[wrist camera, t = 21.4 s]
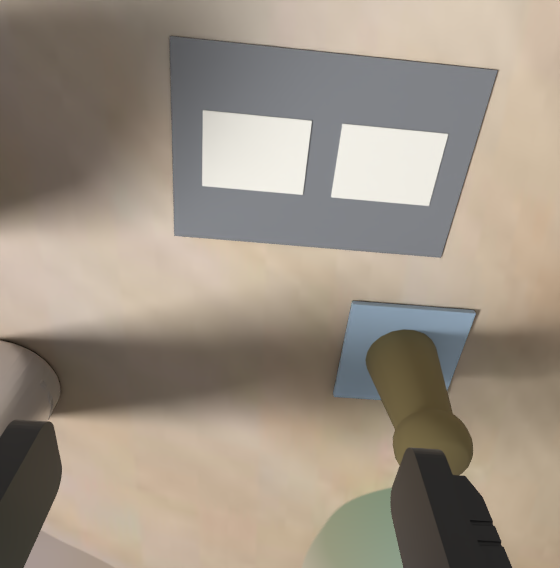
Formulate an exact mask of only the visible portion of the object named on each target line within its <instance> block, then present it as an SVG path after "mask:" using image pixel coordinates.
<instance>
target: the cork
mask: <svg viewBox="0 0 560 568" xmlns="http://www.w3.org/2000/svg"><path fill="white" fill-rule="evenodd" d="M365 361H366V366H367V370H368V372H369V374H370V376H371V378H372V381H373V383H374V385H375V387H376V389H377V391H378V394H379V396H380V398H381V400H382V402H383V404H384V407H385V409H386V411H387V413H388V415H389V417H390V420H391V422H392V424H393V426H394V428H395V433H394V436H393V448H394V454H395V458H396V460H397V462H398V463H399V465H400V464H401V461H402V458H403V455H404V453H405V450H406V449H407V448H409V447H410V448H425V449H439V450H441V451H443V453H444V454H445V456H446V458H447V461H448V464H449V466H450V469H451V472H452V474H453V475H460V474H462V473H463V472H464V471H465V470H466V469H467V468H468V466H469V464H470V462H471V460H472V456H473V443H472V438H471V436H470V434H469V432H468V430H467V428H466V427H465V425H464V424H463V422H462V421H461V420H460V419H459V418H457V417H456V416H455V415H453V413H452V409H451V405H450V401H449V397H448V393H447V389H446V385H445V381H444V377H443V373H442V369H441V365H440V361H439V357H438V353H437V349H436V346H435V344H434V343H433V341H432V339H430V338H429V337H428V336H427V335H425V334H424V333H421V332H418V331H416V330H405V329H403V330H397V331H392V332H390V333H387V334H385V335H383V336H381V337H380V338H379V339H377V340H376V341H375V342H374V343H373V344H372V345H371V347H370V348H369V350H368V351H367V355H366V360H365Z"/></svg>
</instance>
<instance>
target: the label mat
mask: <svg viewBox="0 0 560 568" xmlns="http://www.w3.org/2000/svg"><path fill="white" fill-rule="evenodd" d="M170 70H171V112H172V154H173V197H174V236H184V237H196V238H209V239H221V240H233V241H245V242H257V243H269V244H281V245H294V246H306V247H318V248H330V249H342V250H354V251H367V252H379V253H391V254H403V255H415V256H427V257H439V258H441V255H442V252H443V249H444V245H445V242H446V239H447V236H448V232H449V229H450V226H451V222H452V219H453V216H454V213H455V209H456V206H457V203H458V199H459V196H460V193H461V189H462V186H463V183H464V180H465V176H466V173H467V170H468V166H469V163H470V160H471V157H472V153H473V150H474V147H475V143H476V140H477V137H478V133H479V130H480V127H481V124H482V120H483V117H484V114H485V110H486V107H487V104H488V101H489V97H490V94H491V91H492V87H493V84H494V81H495V77H496V74H497V71H498V70H490V69H481V68H471V67H462V66H452V65H442V64H433V63H423V62H414V61H404V60H395V59H385V58H376V57H366V56H356V55H347V54H337V53H328V52H318V51H309V50H299V49H290V48H280V47H271V46H261V45H251V44H242V43H232V42H223V41H213V40H204V39H194V38H185V37H175V36H170Z"/></svg>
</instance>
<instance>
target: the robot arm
mask: <svg viewBox="0 0 560 568" xmlns="http://www.w3.org/2000/svg"><path fill="white" fill-rule="evenodd" d="M59 397H60V383H59V380H58V377H57V375H56V374H55V372H54V371H53V369H52V368H51V367H50V366H49V365H48V363H47V362H46V361H45V360H43V359H42V358H41V357H39V356H38V355H37V354H35V353H34V352H32V351H30V350H28V349H26V348H24V347H22V346H19V345H16V344H14V343H9V342H5V341H0V568H23V567H24V565H25V563H26V561H27V559H28V556H29V554H30V552H31V550H32V547H33V545H34V543H35V541H36V539H37V537H38V534H39V532H40V530H41V528H42V526H43V523H44V521H45V519H46V517H47V515H48V512H49V510H50V508H51V506H52V504H53V501H54V499H55V497H56V494H57V492H58V489H59V485H60V481H61V475H62V465H61V460H60V455H59V450H58V445H57V440H56V435H55V430H54V426H53V424H52V423H51V422H48V421H47V420H49V418H50V416H51V414H52V412H53V409H54V408H55V406H56V404H57V402H58V400H59ZM391 513H392V519H393V523H394V528H395V532H396V537H397V541H398V546H399V550H400V555H401V559H402V563H403V568H512V566H511V564H510V561H509V559H508V557H507V554H506V552H505V549H504V547H502V546H501V540H500V537H499V535H498V533H497V530H496V528H495V526H493V521H492V518H491V516H490V514H489V511H488V509H487V506H486V504H485V502H484V499H483V497H482V496H481V495H480V493H479V492H478V491H477V490H476V489H475V487H474V486H473V485H472V484H471V482H470V481H469V480H468V479H467V478H466V476H459V475H453V474H452V472H451V469H450V466H449V464H448V461H447V458H446V456H445V454H444V453H443V451H441V450H439V449H425V448H410V447H409V448H407V449H406V450H405V453H404V455H403V458H402V461H401V464H400V467H399V469H398V472H397V475H396V478H395V481H394V484H393V486H392V491H391Z"/></svg>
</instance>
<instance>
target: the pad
mask: <svg viewBox="0 0 560 568" xmlns="http://www.w3.org/2000/svg"><path fill="white" fill-rule="evenodd" d="M475 315H476V313H475V311H474V310H466V309H453V308H440V307H427V306H414V305H401V304H388V303H375V302H362V301H352V304H351V308H350V313H349V318H348V323H347V328H346V333H345V338H344V343H343V347H342V352H341V357H340V362H339V367H338V372H337V377H336V382H335V386H334V391H333V395H334V397H343V398H358V399H373V400H381V398H380V396H379V394H378V391H377V389H376V387H375V385H374V383H373V381H372V378H371V376H370V374H369V372H368V370H367V366H366V361H365V360H366V355H367V351H368V350H369V348H370V347H371V345H372V344H373V343H374V342H375V341H376V340H377V339H379V338H380V337H381V336H383V335H385V334H387V333H390V332H392V331H397V330H403V329H405V330H416V331H418V332H421V333H424V334H425V335H427V336H428V337H429V338H430V339H432V341H433V343H434V344H435V346H436V349H437V353H438V357H439V361H440V365H441V369H442V373H443V377H444V381H445V385H446V389H447V390H448V387H449V385H450V382H451V379H452V377H453V374H454V371H455V369H456V366H457V363H458V360H459V358H460V355H461V352H462V350H463V347H464V344H465V342H466V339H467V336H468V334H469V331H470V328H471V326H472V323H473V320H474V317H475Z"/></svg>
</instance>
